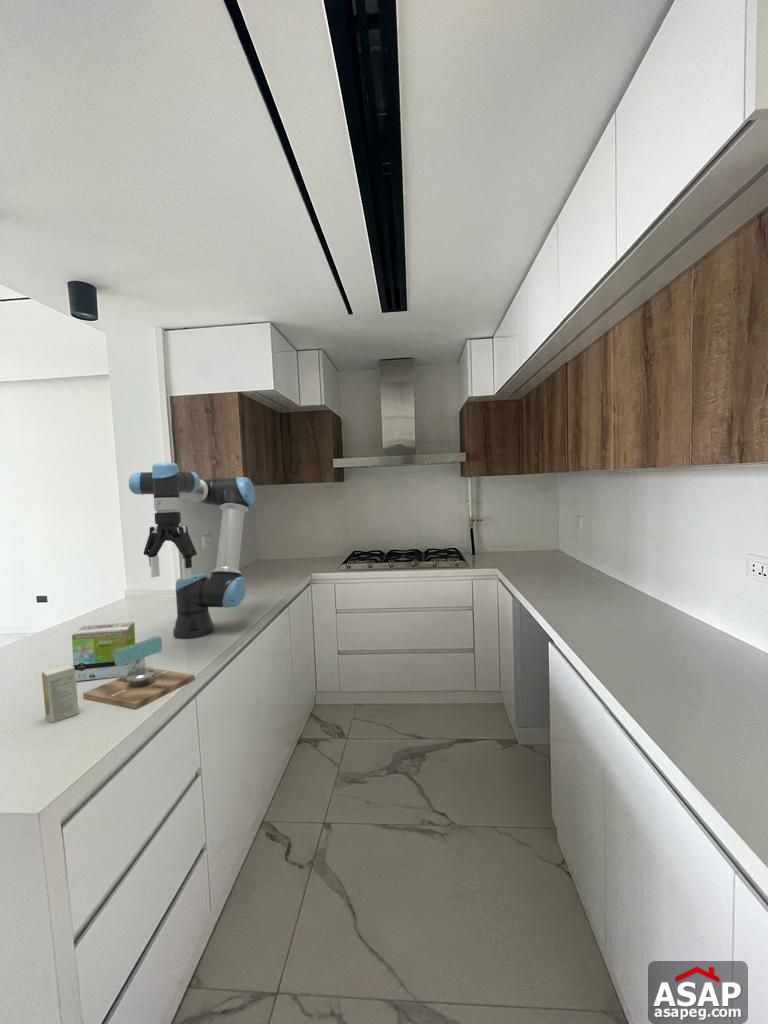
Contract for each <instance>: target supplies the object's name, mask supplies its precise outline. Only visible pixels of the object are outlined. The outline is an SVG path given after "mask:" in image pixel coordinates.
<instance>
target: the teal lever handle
mask: <svg viewBox="0 0 768 1024" xmlns="http://www.w3.org/2000/svg"><path fill="white" fill-rule="evenodd" d="M162 641H163V640H162V637H161V635H160V634H154V637H151V638H148V639H145V640H142V641H140V642H135V644H133V645H130V646H127V647H124V648H121V649H118V650H115V651H114V654H115V665H117V666H123V665H126V664H128V663H131V662H134V661H135V667H134V668H135V670H132V671H131V672H130V673H129V674H127V681H128V682H141V681H145V680H148V679H151V678H152V677H154V670H153V669H145V667H146V663H145V658H147V657H149V656H153V655H155V654H158V653H160V652H163V644H162V643H163V642H162Z"/></svg>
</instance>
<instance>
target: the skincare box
mask: <svg viewBox="0 0 768 1024" xmlns="http://www.w3.org/2000/svg"><path fill="white" fill-rule="evenodd" d="M41 677H42V678H41V679H42V680H41V681H42V688H43V690H42V691H43V699H44V700H43V701H44V710H45V711H44V712H45V719H46V720H47V721H48V722H49V723H50V724H53V723H55V722H58V721H62V720H64V719H67V718H69V717H73V716H75V715H78V714H79V713H80V712H79V701H78V691H77V690H78V689H77V682H76V677H75V667H73V665H72V664H70V663H68V664H65V665H64V664H63V665H61V666H58V667H57V666H56V667H54V668H51V669H47V670H43V671H41Z"/></svg>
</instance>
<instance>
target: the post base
mask: <svg viewBox="0 0 768 1024" xmlns="http://www.w3.org/2000/svg"><path fill="white" fill-rule="evenodd" d="M145 669H153V670H154V677H152V678H151V679H148V680H145V681H141V682H128V681H127V675H126V676H123V677H117V678H116V679H114V680H112V681H110V682H107V683H105V684H102V685H99V686H98V687H94V688H93V689H90V690H88V691H85V692H83V693H82V697H83V699H84V700H87V701H93V702H98V703H103V704H107V705H111V706H117V707H118V706H119V707H121V706H122V708H126V707H127V708H128V709H131V710H138V709H139V707H140V708H141V707H143V705H144V706H146V705H147V704H149V703H151V702H153V701H155V700H158V699H159V698H161V697H163V696H165V695H167V694H169V693H171V692H174V691H176V690H177V689H179V688H181V687H184V686H185V685H187V684H189V683H190V682H193V681H195V678H196V677H195V674H193V673H192V674H191V673H185V672H179V671H172V670H166V669H161V668H154V667H153V668H152V667H147V666H145Z"/></svg>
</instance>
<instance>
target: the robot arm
mask: <svg viewBox="0 0 768 1024" xmlns="http://www.w3.org/2000/svg"><path fill="white" fill-rule="evenodd" d="M151 469H152V472H151V471H149V472H147V471H145V472H142V471H141V472H134V473H132V474H131V475H130V476H129V479H128V489H129V490H130V491H131V492H132V494H135V495H153V508H154V511H155V513H154V524H155V525H156V526H150V527H149V535H148V537H147V541H146V544H145V546H144V551H143V555H145V556H147V557H148V560H149V561H148V562H149V567H150V578H152V579H153V578H156V577H161V576H160V575H161V574H160V558H159V554H158V553H159V552H160V550H161V548H162V547H163V545H164V543H165V542H167V541H168V542H171V543H174V545H175V546H176V548H177V549H178V551H179V552H180V554H181V555H182V558H181V567H182V568H181V570H182V572H181V573H182V577H179V578H178V579H176V582H175V589H174V590H175V597H176V598H175V599H176V601H175V602H176V619H175V625H174V627H173V632H172V633H173V637H174V638H178V639H193V638H200V636H201V637H204V636H207V634H208V635H209V633H210V634H212V633H214V631H215V624H214V622H213V620H212V617H211V614H210V612H209V611H210V610H209V608H225V609H226V608H227V609H228V608H236V607H238V606H239V605H240V604H242V602H243V601H244V598H245V597H246V592H247V580H246V579H245V578H244V577H243V573H242V572H241V571H240V569H239V566H240V559H241V558H240V556H241V548H242V538H243V529H244V521H245V513H247V512H248V511H249V509H250V506H251V505H254V502H255V500H256V491H255V487H254V485H253V482H252V481H251V479H250V478H249V477H244V476H243V477H241V476H235V477H219V478H218V477H214V478H213V477H212V478H204V479H202V478H201V479H200V477H199V475H198V474H197V473H196V472H194V471H191V470H179V465H178V464H177V463H176V462H175V463H174V462H156V463H154V464H152V468H151ZM180 498H181V499H188V500H190V501H191V502H193V503H199V504H205V505H210V506H219V509H220V510H221V511H222V513H221V514H222V516H221V523H220V525H221V526H220V531H219V532H220V534H219V539H218V541H219V543H218V548H217V557H216V565H215V568H214V569H213V570H212V571H211V572H210V573H211V574H210V577H208V575H207V573H197V574H192V568H193V561H192V558H193V557H195V556H197V555H198V554H197V550H196V548H195V546H194V543H193V541H192V539H191V536H190V534H189V529H188V526H187V525H185V526H180V523H182V517H181V512H180V510H181V501H180ZM211 632H212V633H211Z"/></svg>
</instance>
